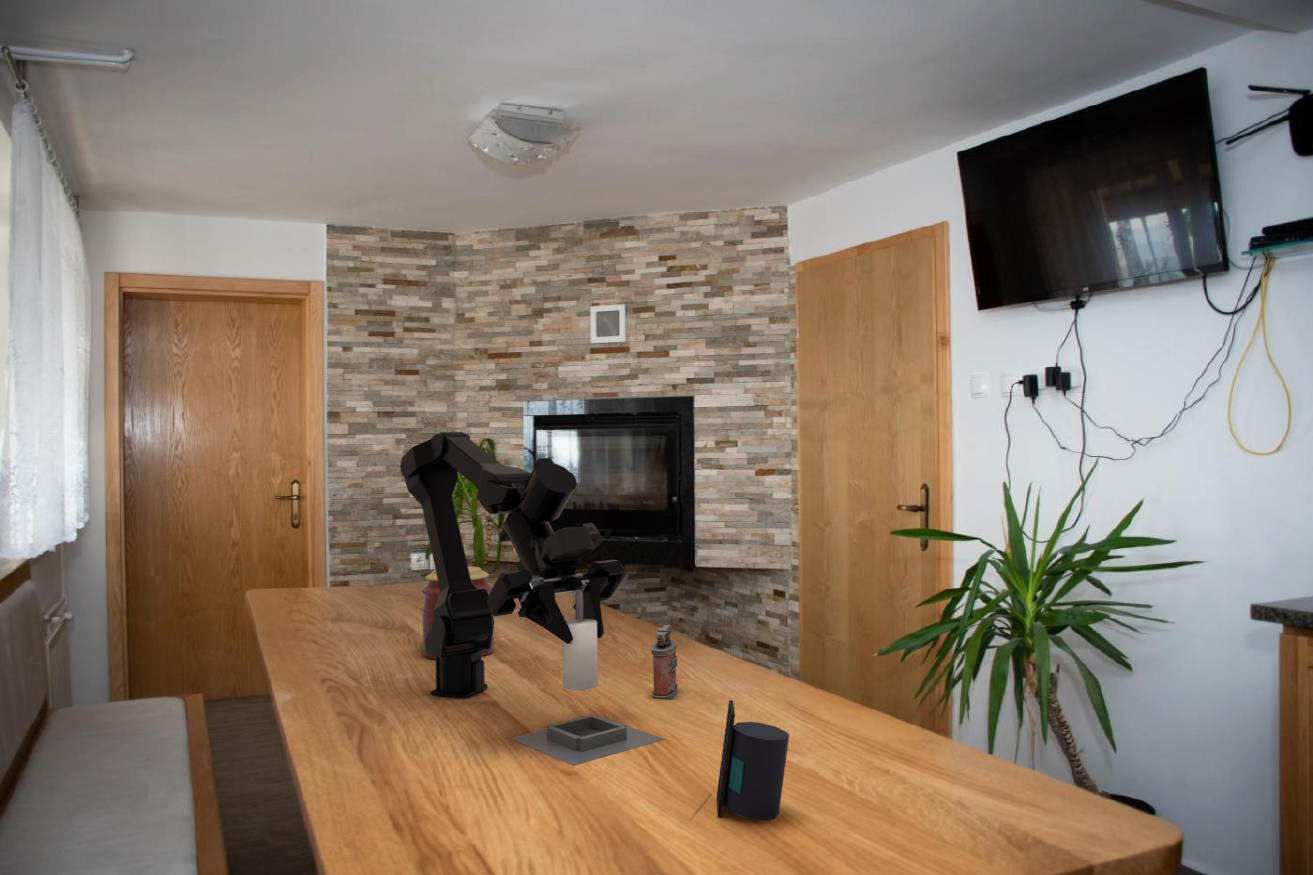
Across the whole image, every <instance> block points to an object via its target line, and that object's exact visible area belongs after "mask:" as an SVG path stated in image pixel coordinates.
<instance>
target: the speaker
mask: <svg viewBox="0 0 1313 875" xmlns="http://www.w3.org/2000/svg"><path fill="white" fill-rule="evenodd" d="M735 718H736V712H735V706H734V700H731V699H729V700H728V707H727V715H726V722H725V730H724V738H723V746H722V753H721V758H720V759H721V760H720V769H719V776H718V785H717V790H716V791H717V792H716V809H717V811H716V812H717V818H722V817H723V812H724V811H723V810H724V809H726V810H727V811H730V812H731V813H732V814H734V815H736V816H739V817H743V818H747V819H751V820H758V821H765V820H772V819H776V817H777V816H778V815H779V814H780V808H781V807H780V806H781V799H782V794H783V793H782V792H783V785H784V778H785V772H786V771H785V769H786V762H787V754H788V748H789V741H790V740H789V738H790V734H789V732H787V731H786V730H783V729H782V728H780V727H777V726H774V725H770V724H766V723H763V722H757V721H756V722H755V721H743V722H740V721H739V722H736V723H735ZM723 808H724V809H723Z"/></svg>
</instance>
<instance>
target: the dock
mask: <svg viewBox="0 0 1313 875" xmlns="http://www.w3.org/2000/svg"><path fill="white" fill-rule="evenodd" d="M509 739H511V740H512V741H514V742H517V743H519V744H521V745H524V746H526V747H528V748H530V749H533V750H535V751H537V752H540V753H542V754H545V755H547V756H549V757H551V758H554V759H557V761H558V760H559V761H561V762H564V763H566V764H567V765H570V766H572V767H573V766H578V765H581V764H584V763H588V762H592V761H595V760H599V759H602V758H606V757H610V756H612V755H616V754H619V753H625V752H627V751H631V750H634V749H638V748H640V747H644V746H648V745H653V744H654V743H659V742H662V741H665V740H666V738H663V737H661V736H658V735H656V734H655V735H654V734H653V733H652V734H651V733H649V732H646V731H643V730H640V729H637V728H634V727H632V726H628V725H626V724H623V723H621V722H617V721H614V720H611V719H609V718H605V717H602V716H600V715H592V714H589V715H586V716H581V717H577V718H574V719H573V718H572V719H569V720H565V721H560V722H557V723H552V724H548V725H546V728H544V729H540V730H537V731H536V730H535V731H532V732H528V733H524V734H520V735H515V736H511V737H509Z"/></svg>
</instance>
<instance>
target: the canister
mask: <svg viewBox="0 0 1313 875" xmlns="http://www.w3.org/2000/svg"><path fill="white" fill-rule="evenodd" d="M468 569H469V573H470V577H471V581H472V583H473V584H474V585H475V586H476V587H477V588H478V589H483V588H484V589H485V590H486V591H487V593H488V596H489V594H490V592H491V590H492V588H493V586H494V585H493V584H491V583H490V582H488V580H487V578H488V577H489V576H490V575H489V573H488V572H486V571H485V570H483V569H482V568H481V567H478V566H471V565H470V566H469V565H468ZM425 580H426V581H427V584H426V585H424V587H423V588H421V590H420V592H421V594H422V595H423V606H422V607H421V612H422V641H421V645H422V646H421V648H422V651H423V656H424V657H426V658H428V659H432V660H436V656H434V655H431V654H428V653H427V651H426V645H425V638H426V636H427V634H428V632H429V630H430V628H431V627H432V625H433V623H434V621H435V620H434V608H435V605H436V602H437V600H438V597H439V594H440V588H439V583H438V579H437V574H436V569H435V568H434V570H432V572H431V573H429V574H427V575H426V576H425ZM494 645H495V636H494V633H493V634H492V640H491V645H490V649H488V650H486V649H485V650H481V656H482V657H483V656H487V655H489V654H491V653H492V652H493V651H494Z"/></svg>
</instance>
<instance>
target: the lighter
mask: <svg viewBox="0 0 1313 875" xmlns="http://www.w3.org/2000/svg"><path fill="white" fill-rule="evenodd" d="M671 635H672V626H671V625H670V624H665V625H663V626H662V627H658V628H657V632H656V642H654V643H653V645H652V646H651V655H652V661H653V662H652V669H653V670H652V672H653V674H652V675H653V691H652V699H654V700H665V701H666V700H667V701H672V700H674V699H675V698H676V697H677V695H678V683H677V667H678V656H677V655H676V650H677V648H678V647H677V646H678V644H677V643H678V642H677V640H676V639H671Z"/></svg>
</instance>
